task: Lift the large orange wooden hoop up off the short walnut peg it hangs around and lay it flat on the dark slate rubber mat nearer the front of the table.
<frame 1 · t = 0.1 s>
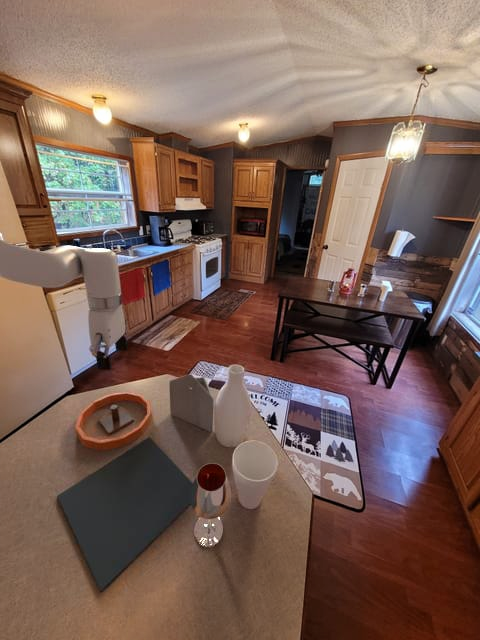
hand: (113, 358, 70), 25 cm above the kitchen counter, tool pointing down, fingers open, 9 cm apart
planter: (196, 415, 87), on the kitchen counter
cup: (249, 496, 64), on the kitchen counter
wineglass: (208, 530, 56), on the kitchen counter
peg: (116, 421, 82), on the kitchen counter
hoop: (116, 421, 82), on the kitchen counter
bottle: (230, 436, 80), on the kitchen counter
mat: (131, 495, 61), on the kitchen counter
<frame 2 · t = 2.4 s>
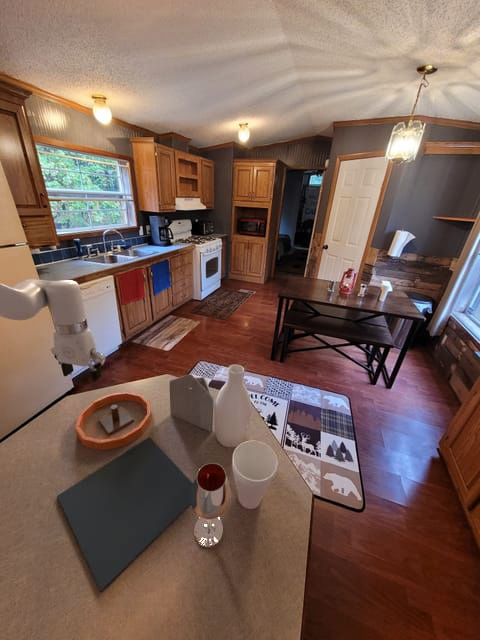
hand: (82, 376, 77), 15 cm above the kitchen counter, tool pointing down, fingers open, 9 cm apart
nothing on the kitchen counter moved.
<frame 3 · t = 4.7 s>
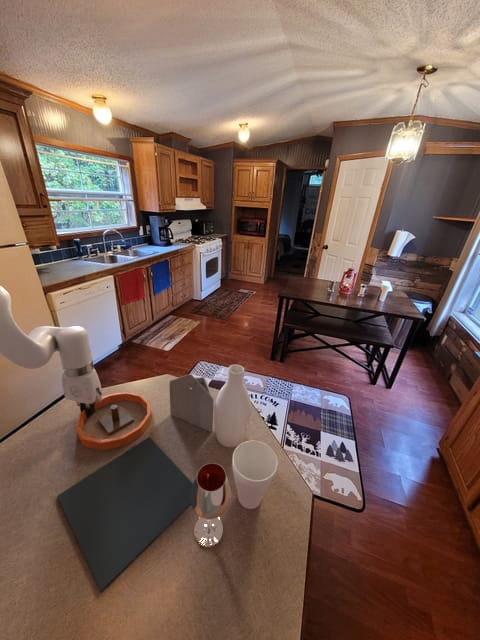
hand: (88, 413, 83), 1 cm above the kitchen counter, tool pointing down, fingers closed on hoop
hoop: (116, 421, 82), on the kitchen counter, touching gripper
everything else where it was.
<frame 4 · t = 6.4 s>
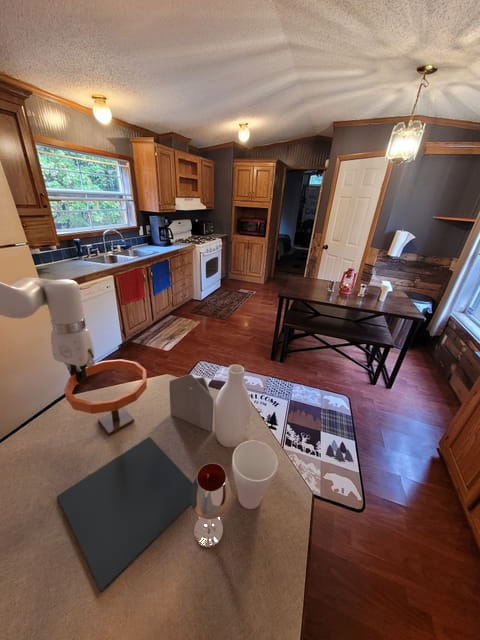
hand: (79, 379, 77), 14 cm above the kitchen counter, tool pointing down, fingers closed on hoop
hoop: (109, 387, 76), point 14 cm above the kitchen counter, touching gripper
everything else where it was.
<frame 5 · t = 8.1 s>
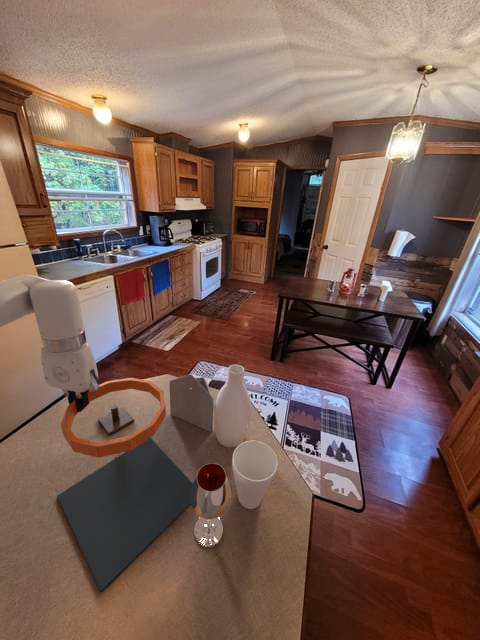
hand: (80, 406, 61), 19 cm above the kitchen counter, tool pointing down, fingers closed on hoop
hoop: (118, 416, 60), point 19 cm above the kitchen counter, touching gripper
everything else where it was.
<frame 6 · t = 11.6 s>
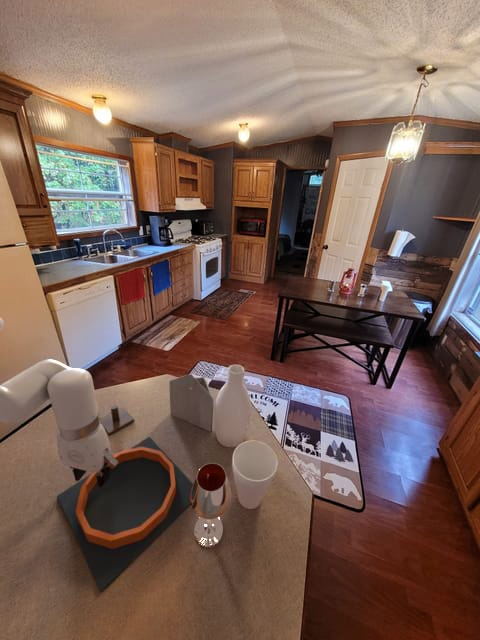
hand: (92, 477, 62), 3 cm above the kitchen counter, tool pointing down, fingers open, 5 cm apart
hoop: (130, 493, 61), resting on mat
everything else where it was.
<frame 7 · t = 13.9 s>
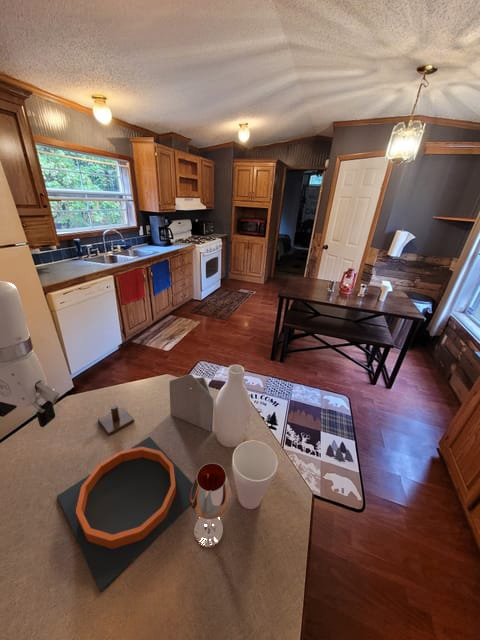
hand: (28, 416, 54), 22 cm above the kitchen counter, tool pointing down, fingers open, 9 cm apart
nothing on the kitchen counter moved.
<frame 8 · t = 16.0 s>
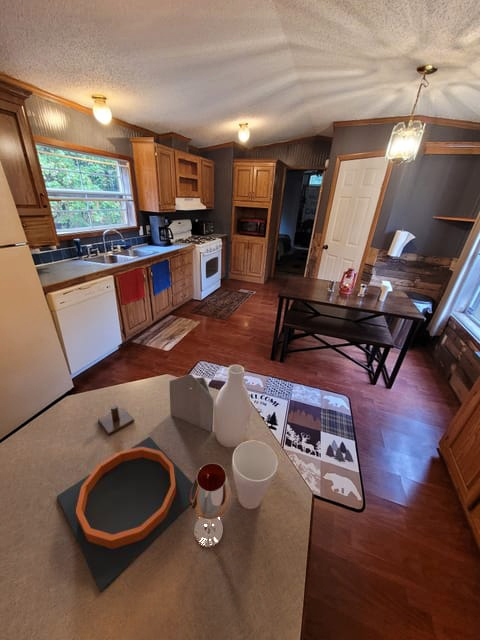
nothing on the kitchen counter moved.
at the end: hoop 0.2 cm off-centre on the mat, point 0.5 cm above the mat's base; hoop tilted 0°; the gripper is holding nothing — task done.
